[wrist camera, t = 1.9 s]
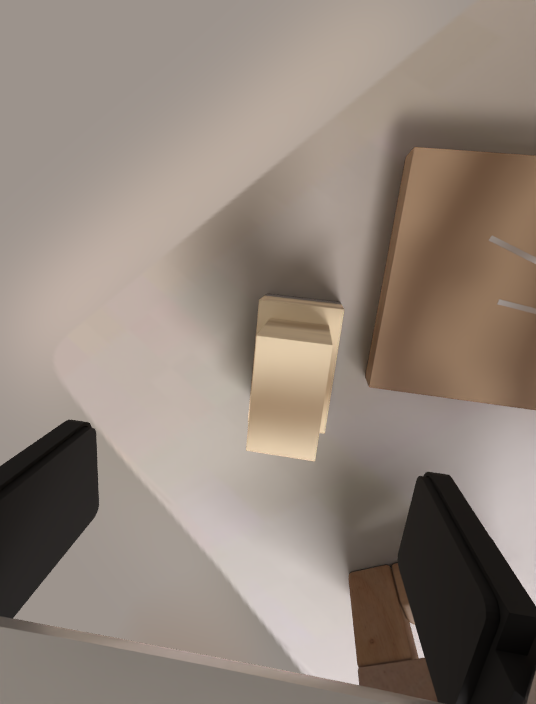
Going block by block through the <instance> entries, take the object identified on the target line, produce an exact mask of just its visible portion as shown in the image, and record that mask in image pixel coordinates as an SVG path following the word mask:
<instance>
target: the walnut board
mask: <svg viewBox="0 0 536 704" xmlns="http://www.w3.org/2000/svg"><path fill="white" fill-rule="evenodd" d="M365 378H366V381H367V383H368V386H369V387H371V388H379V389H386V390H393V391H400V392H408V393H415V394H422V395H429V396H437V397H444V398H451V399H458V400H466V401H473V402H480V403H487V404H495V405H502V406H509V407H517V408H524V409H531V410H536V156H534V155H520V154H506V153H492V152H478V151H464V150H450V149H436V148H422V147H414V148H413V149H412V151H411V152H410V153H409V154H408V155H407V156H406V158H405V164H404V169H403V174H402V180H401V185H400V191H399V196H398V201H397V207H396V212H395V218H394V223H393V229H392V234H391V239H390V245H389V250H388V256H387V261H386V266H385V272H384V277H383V283H382V288H381V294H380V299H379V304H378V310H377V315H376V321H375V326H374V331H373V337H372V342H371V348H370V353H369V359H368V364H367V369H366V375H365Z"/></svg>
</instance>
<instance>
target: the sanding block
mask: <svg viewBox="0 0 536 704" xmlns="http://www.w3.org/2000/svg"><path fill="white" fill-rule="evenodd" d="M343 315H344V308H343V306H342V305H341V303H340V302H334V301H325V300H316V299H308V298H299V297H290V296H282V295H273V294H266V295H265V296H263V297H262V298H261V299H259V306H258V317H257V328H256V339H255V350H254V361H253V372H252V382H251V393H250V404H249V415H248V422H249V423H248V434H247V445H246V451H252V452H259V453H265V454H271V455H278V456H284V457H290V458H296V459H303V460H309V461H315V458H316V451H317V445H318V438H319V433H323V434H325V428H326V422H327V416H328V409H329V403H330V397H331V391H332V384H333V378H334V372H335V365H336V359H337V353H338V346H339V340H340V334H341V327H342V321H343Z"/></svg>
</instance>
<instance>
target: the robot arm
mask: <svg viewBox="0 0 536 704" xmlns="http://www.w3.org/2000/svg"><path fill="white" fill-rule="evenodd" d="M98 507H99V494H98V471H97V444H96V431H95V429H94V428H92V427H91V425H90V423H88V422H83V421H76V420H67V421H65V422H64V423H62V424H61V425H59V426H58V427H56V428H55V429H53V430H52V431H51V432H49V433H48V434H46V435H45V436H43V437H42V438H40V439H39V440H37V441H36V442H35V443H33V444H32V445H30V446H29V447H27V448H26V449H25V450H23V451H22V452H20V453H19V454H17V455H16V456H14V457H13V458H11V459H10V460H9V461H7V462H6V463H4V464H3V465H1V466H0V704H536V606H535V604H534V603H533V601H532V600H531V598H530V597H529V595H528V594H527V592H526V591H525V589H524V587H523V586H522V584H521V583H520V581H519V580H518V578H517V577H516V575H515V574H514V572H513V571H512V569H511V568H510V566H509V564H508V563H507V561H506V560H505V558H504V557H503V555H502V554H501V552H500V551H499V549H498V548H497V546H496V544H495V543H494V541H493V540H492V538H491V537H490V536H489V535H488V533H487V531H486V530H485V528H484V527H483V525H482V524H481V522H480V521H479V519H478V518H477V516H476V515H475V513H474V511H473V510H472V508H471V507H470V505H469V504H468V502H467V501H466V499H465V498H464V496H463V494H462V493H461V491H460V490H459V488H458V487H457V485H456V484H455V482H454V481H453V479H452V478H451V476H450V475H446V474H440V473H433V472H426V473H425V474H424V477H423V476H419V477H418V478H417V481H416V485H415V489H414V493H413V497H412V501H411V505H410V509H409V513H408V517H407V521H406V525H405V529H404V533H403V537H402V541H401V545H400V549H399V553H398V567H399V571H400V574H401V578H402V581H403V585H404V588H405V591H406V595H407V598H408V602H409V605H410V609H411V612H412V615H413V619H414V622H415V626H416V629H417V632H418V636H419V639H420V643H421V646H422V650H423V653H424V656H425V660H426V663H427V667H428V670H429V673H430V677H431V680H432V684H433V687H434V691H435V694H436V697H437V701H438V702H434V701H430V700H425V699H421V698H416V697H412V696H407V695H402V694H398V693H393V692H389V691H384V690H380V689H375V688H370V687H365V686H360V685H355V684H350V683H345V682H340V681H335V680H330V679H325V678H320V677H315V676H310V675H305V674H300V673H294V672H289V671H284V670H279V669H274V668H270V667H265V666H260V665H255V664H249V663H244V662H239V661H234V660H229V659H224V658H218V657H213V656H208V655H203V654H197V653H193V652H187V651H182V650H177V649H172V648H167V647H161V646H156V645H151V644H146V643H141V642H135V641H129V640H125V639H120V638H114V637H109V636H104V635H99V634H93V633H88V632H82V631H77V630H72V629H66V628H61V627H55V626H50V625H45V624H39V623H33V622H28V621H23V620H18V619H13V617H14V616H15V615H16V614H17V613H18V611H19V610H20V609H21V608H22V606H23V605H24V604H25V603H26V601H27V600H28V599H29V598H30V596H31V595H32V594H33V593H34V591H35V590H36V589H37V588H38V587H39V585H40V584H41V583H42V582H43V580H44V579H45V578H46V577H47V575H48V574H49V573H50V572H51V570H52V569H53V568H54V567H55V566H56V564H57V563H58V562H59V561H60V559H61V558H62V557H63V556H64V554H65V553H66V552H67V551H68V549H69V548H70V547H71V546H72V544H73V543H74V542H75V541H76V540H77V538H78V537H79V536H80V534H81V533H82V532H83V531H84V530H85V528H86V527H87V526H88V525H89V523H90V522H91V521H92V520H93V519H94V517H95V515H96V513H97V511H98Z"/></svg>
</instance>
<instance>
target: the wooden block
mask: <svg viewBox="0 0 536 704" xmlns="http://www.w3.org/2000/svg"><path fill="white" fill-rule="evenodd" d="M349 587H350V597H351V607H352V616H353V626H354V636H355V645H356V655H357V665H358V667H359V668H358V677H359V685H360V686H365V687H370V688H375V689H380V690H384V691H389V692H393V693H398V694H402V695H407V696H412V697H416V698H421V699H425V700H430V701H434V702H438V701H437V697H436V694H435V691H434V687H433V684H432V680H431V677H430V673H429V670H428V667H427V663H426V660H425V658H418V654H417V650H416V646H415V642H414V638H413V635H412V631H411V627H410V623H412V624H415V622H414V619H413V615H412V612H411V609H410V605H409V602H408V598H407V595H406V591H405V588H404V585H403V581H402V578H401V574H400V571H399V567H398V563H394V564H393V565H392V569H391V567H390V566H389V565H383V566H378V567H373V568H369V569H364V570H359V571H355V572H351V573H349ZM409 622H410V623H409Z"/></svg>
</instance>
